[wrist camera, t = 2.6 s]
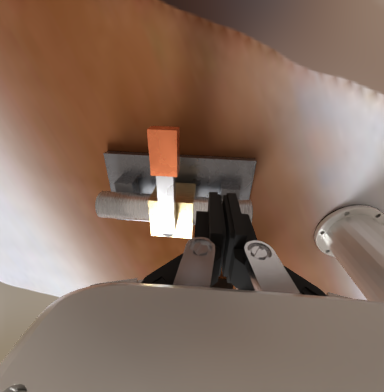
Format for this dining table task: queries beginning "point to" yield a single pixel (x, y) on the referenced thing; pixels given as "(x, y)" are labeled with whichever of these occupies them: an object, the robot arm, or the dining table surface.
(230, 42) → the dining table surface
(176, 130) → the lever
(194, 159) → the valve base
